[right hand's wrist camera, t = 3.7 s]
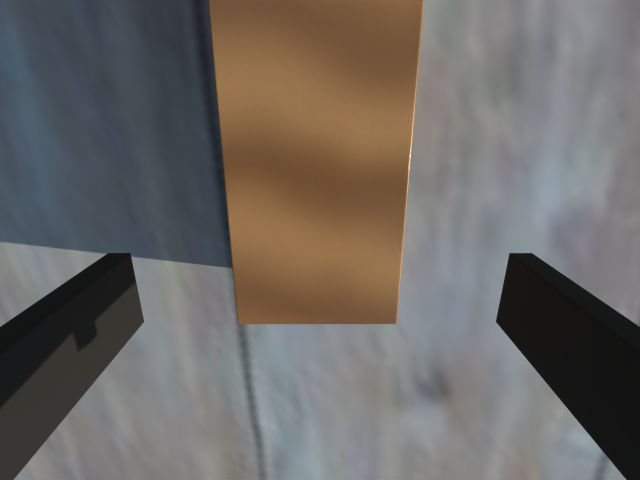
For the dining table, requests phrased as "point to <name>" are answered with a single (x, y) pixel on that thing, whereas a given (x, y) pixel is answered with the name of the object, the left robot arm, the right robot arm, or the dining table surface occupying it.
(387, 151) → the wide beam
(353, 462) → the dining table surface
